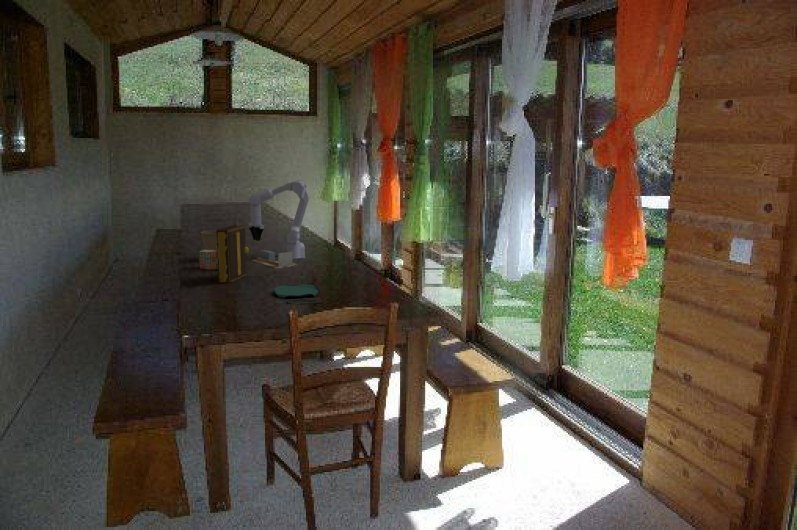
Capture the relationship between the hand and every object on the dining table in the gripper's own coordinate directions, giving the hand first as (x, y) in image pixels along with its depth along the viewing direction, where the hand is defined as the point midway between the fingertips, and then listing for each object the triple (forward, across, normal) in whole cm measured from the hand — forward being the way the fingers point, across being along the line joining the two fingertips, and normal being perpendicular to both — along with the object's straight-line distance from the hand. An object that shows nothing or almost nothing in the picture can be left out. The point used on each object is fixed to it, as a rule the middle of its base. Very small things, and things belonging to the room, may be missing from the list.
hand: (256, 240), depth 359 cm
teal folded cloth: (+11, +91, -28) cm, 96 cm away
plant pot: (+11, -8, -21) cm, 25 cm away
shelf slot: (+10, +19, 0) cm, 22 cm away
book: (+11, +41, -34) cm, 54 cm away
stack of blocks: (+11, +15, -28) cm, 34 cm away
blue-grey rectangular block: (+10, +12, 0) cm, 15 cm away
